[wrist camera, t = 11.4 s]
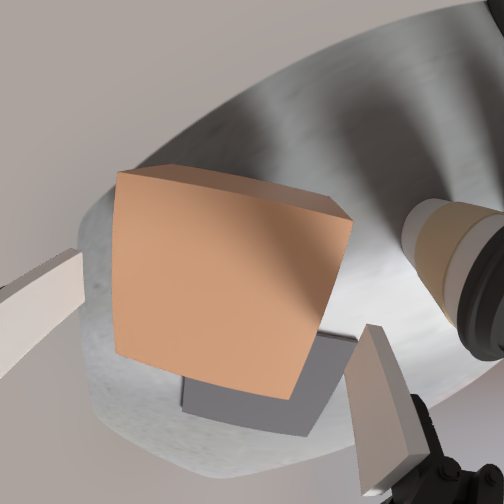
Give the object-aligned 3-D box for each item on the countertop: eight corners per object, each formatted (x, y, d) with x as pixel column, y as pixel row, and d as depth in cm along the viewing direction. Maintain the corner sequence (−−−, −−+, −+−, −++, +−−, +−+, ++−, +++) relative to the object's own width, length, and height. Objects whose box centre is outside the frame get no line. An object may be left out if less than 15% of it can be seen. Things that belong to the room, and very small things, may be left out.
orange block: (329, 196, 18) (353, 221, 12) (289, 333, 22) (288, 400, 15) (171, 163, 19) (117, 171, 12) (157, 300, 22) (115, 353, 16)
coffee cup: (372, 252, 25) (447, 356, 11) (420, 167, 22) (542, 194, 8) (436, 292, 25) (513, 388, 11) (480, 218, 22) (585, 275, 8)
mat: (357, 339, 28) (358, 343, 27) (306, 433, 34) (306, 436, 33) (194, 304, 29) (192, 307, 28) (183, 408, 34) (182, 411, 34)
